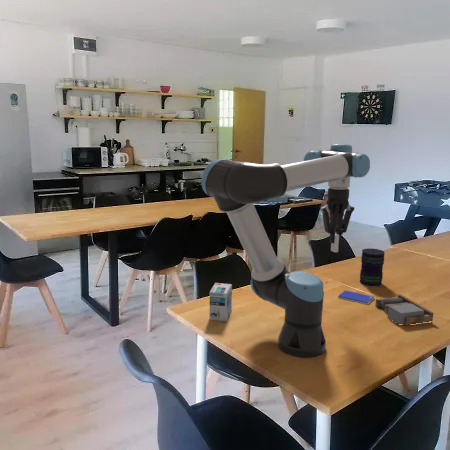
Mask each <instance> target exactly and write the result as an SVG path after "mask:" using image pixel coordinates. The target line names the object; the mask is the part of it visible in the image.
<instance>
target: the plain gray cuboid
mask: <svg viewBox="0 0 450 450" xmlns="http://www.w3.org/2000/svg"><path fill="white" fill-rule="evenodd" d="M421 315H424V310H422V309H421V308H419V307H417V306H415V305H413V304H412V303H409V304H401V305H392V306H389V307H388V313H387V317H386V318H387V319H388V318H389V319H388V320H390V319H391V320H393V321H394V322H393V321H392V322H393V323H395V322H396V323H398V324H404V322H405V317H412V316H421ZM391 320H390V321H391ZM396 323H395V324H396ZM398 324H397V325H398Z"/></svg>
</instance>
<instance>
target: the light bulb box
mask: <svg viewBox="0 0 450 450" xmlns="http://www.w3.org/2000/svg"><path fill="white" fill-rule="evenodd" d="M232 295H233V284H231V283H220V282H214V285H213V286H212V287H211V289H210V291H209V320H212V321H222V322H227V321H228V320H229V317H230V316H231V315H230V314H231V313H232V309H233V308H232V306H233V305H232V302H233V301H232V298H233V296H232Z"/></svg>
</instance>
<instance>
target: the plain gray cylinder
mask: <svg viewBox="0 0 450 450" xmlns="http://www.w3.org/2000/svg"><path fill="white" fill-rule="evenodd" d="M397 303H404V301H403V299H402V298H395V299H385V300H381V301H380V306H381V307H380V309H381V310H382V311H384V310H385V305H387V304H397Z"/></svg>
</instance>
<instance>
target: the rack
mask: <svg viewBox="0 0 450 450" xmlns="http://www.w3.org/2000/svg"><path fill="white" fill-rule="evenodd" d="M395 298H402V299H403V301H404V303H397V304H387V305H385V310H383V312H384V313H385V314H388V307H389V306H392V305H401V304H409V303H412V304H413V305H415V306H417V307H419V308H421V309H422V310H424V315H421V316H412V317H405V322H404V324H405V325H410V324H416V323H423V322H429V321H434V312H433V311H431V310H430V309H428V308H426V307H424V306H423V305H420V304H418V303H417V302H416V301H414V300H411V299H410V298H407V297H406V296H404V295H402V294H401V293H400V294H397V296H396V297H395V296H394V297H384V298H382V297H381V298H375V304H374V305H375V308H381V306H380V301H381V300H385V299H395ZM405 325H404V326H405Z"/></svg>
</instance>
